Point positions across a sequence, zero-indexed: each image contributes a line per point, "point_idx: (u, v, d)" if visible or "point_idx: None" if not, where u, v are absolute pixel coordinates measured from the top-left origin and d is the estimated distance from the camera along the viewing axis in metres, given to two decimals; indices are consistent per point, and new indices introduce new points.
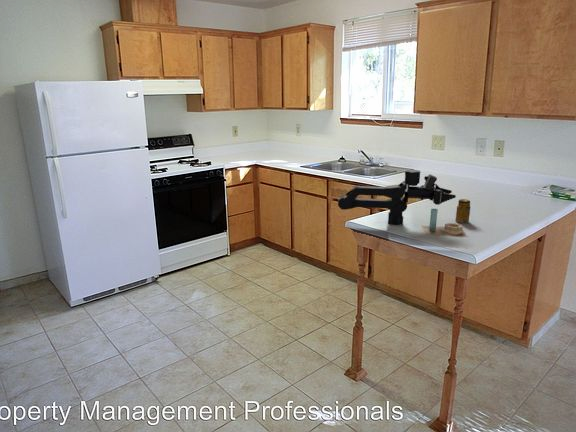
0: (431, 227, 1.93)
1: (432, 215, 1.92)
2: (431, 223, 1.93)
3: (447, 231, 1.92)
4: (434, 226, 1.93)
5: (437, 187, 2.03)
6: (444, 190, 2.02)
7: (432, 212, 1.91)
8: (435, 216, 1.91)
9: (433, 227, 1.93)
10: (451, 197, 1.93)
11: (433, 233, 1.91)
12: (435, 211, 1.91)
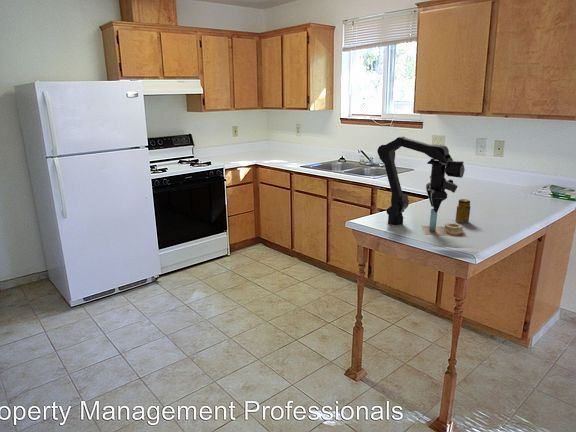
0: (431, 227, 1.93)
1: (432, 215, 1.92)
2: (431, 223, 1.93)
3: (447, 231, 1.92)
4: (434, 226, 1.93)
5: None
6: None
7: (432, 212, 1.92)
8: (435, 216, 1.91)
9: (433, 227, 1.93)
10: (435, 208, 1.86)
11: (433, 233, 1.91)
12: None
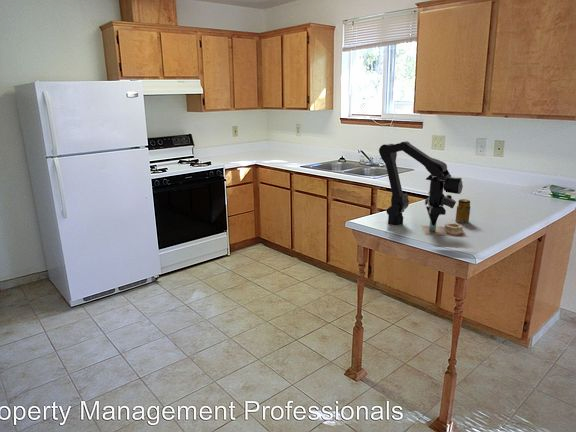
0: (431, 227, 1.93)
1: None
2: (431, 223, 1.93)
3: (447, 231, 1.92)
4: (434, 226, 1.93)
5: None
6: None
7: None
8: None
9: (433, 227, 1.93)
10: (433, 221, 1.91)
11: (433, 233, 1.91)
12: None
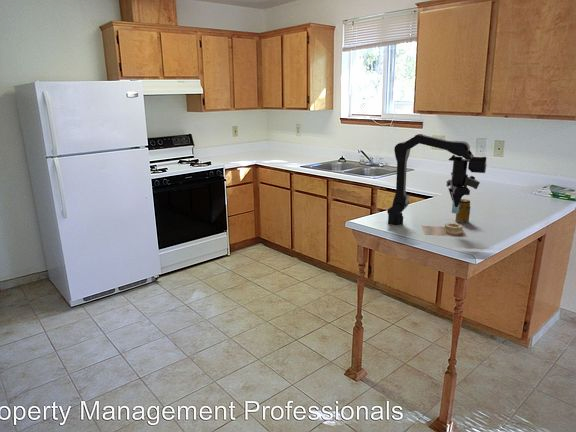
0: (454, 209, 1.89)
1: None
2: (454, 205, 1.89)
3: (447, 231, 1.92)
4: (457, 208, 1.89)
5: None
6: None
7: None
8: None
9: (456, 209, 1.89)
10: (456, 203, 1.87)
11: (433, 233, 1.91)
12: None
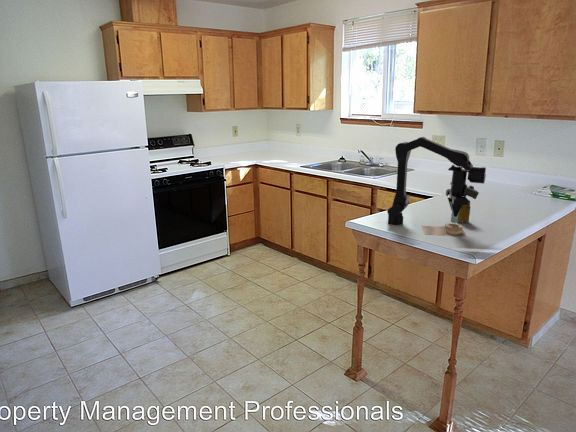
0: (453, 218, 1.91)
1: None
2: (453, 214, 1.90)
3: (447, 231, 1.92)
4: (456, 217, 1.90)
5: None
6: None
7: None
8: None
9: (455, 218, 1.90)
10: (455, 212, 1.89)
11: (433, 233, 1.91)
12: None
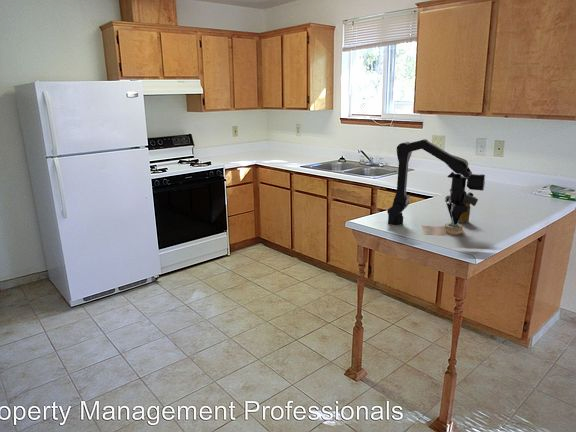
0: None
1: None
2: (452, 224, 1.91)
3: (447, 231, 1.92)
4: None
5: None
6: None
7: None
8: None
9: None
10: (455, 220, 1.88)
11: (433, 233, 1.91)
12: None
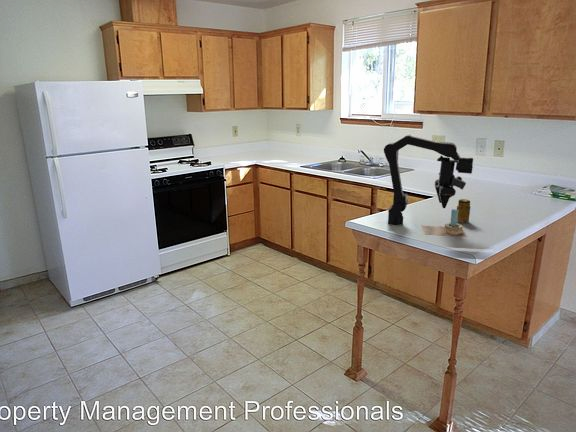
0: None
1: (453, 215, 1.91)
2: (452, 224, 1.92)
3: (447, 231, 1.92)
4: None
5: None
6: None
7: (453, 212, 1.91)
8: (456, 216, 1.90)
9: None
10: (443, 204, 1.90)
11: (433, 233, 1.91)
12: (456, 211, 1.90)
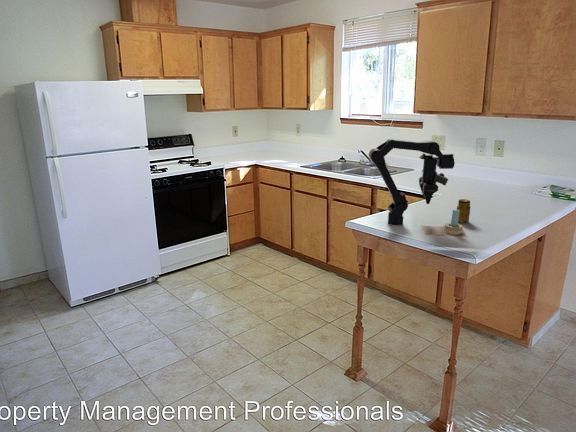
0: None
1: (454, 216, 1.90)
2: (452, 224, 1.91)
3: (447, 231, 1.92)
4: None
5: None
6: None
7: (454, 213, 1.90)
8: (457, 217, 1.90)
9: None
10: (427, 200, 1.97)
11: (433, 233, 1.91)
12: (457, 212, 1.89)
